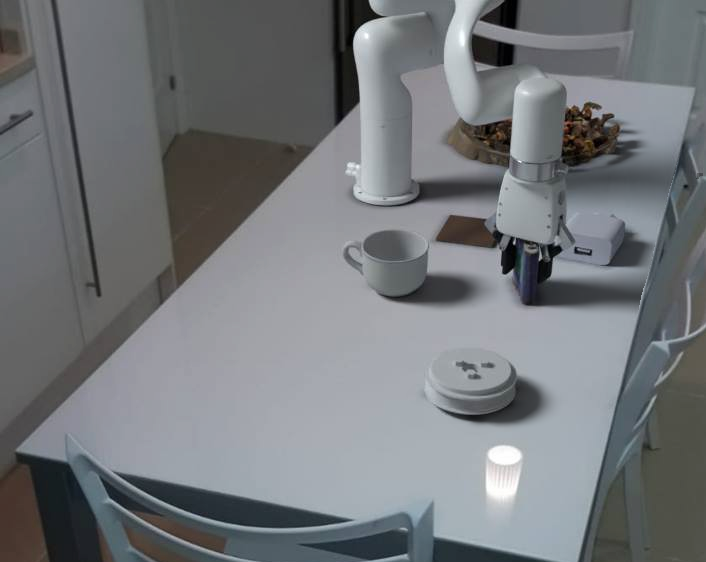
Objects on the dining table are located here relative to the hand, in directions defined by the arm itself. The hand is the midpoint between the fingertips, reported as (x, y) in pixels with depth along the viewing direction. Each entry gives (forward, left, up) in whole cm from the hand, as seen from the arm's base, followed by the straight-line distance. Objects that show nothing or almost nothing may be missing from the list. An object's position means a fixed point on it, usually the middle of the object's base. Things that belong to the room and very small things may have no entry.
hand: (525, 274), depth 174 cm
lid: (+7, -31, -3) cm, 32 cm away
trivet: (-18, +15, -3) cm, 24 cm away
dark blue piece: (0, 0, -3) cm, 3 cm away
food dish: (-28, +60, -3) cm, 66 cm away
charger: (+2, +22, -3) cm, 22 cm away
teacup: (-20, -10, -3) cm, 23 cm away
